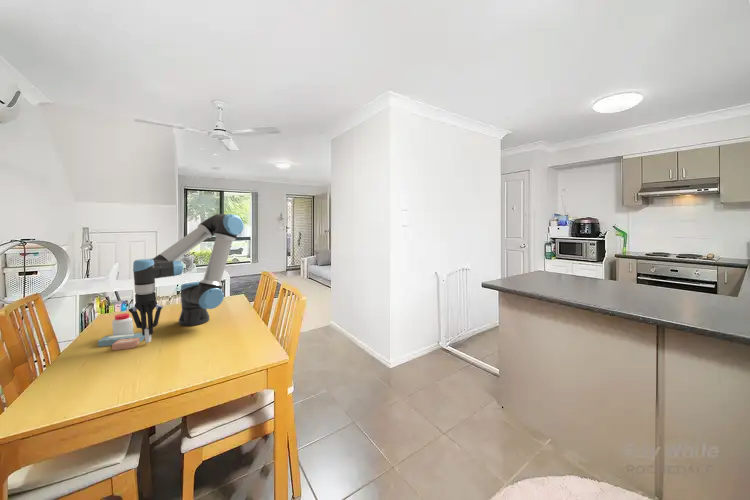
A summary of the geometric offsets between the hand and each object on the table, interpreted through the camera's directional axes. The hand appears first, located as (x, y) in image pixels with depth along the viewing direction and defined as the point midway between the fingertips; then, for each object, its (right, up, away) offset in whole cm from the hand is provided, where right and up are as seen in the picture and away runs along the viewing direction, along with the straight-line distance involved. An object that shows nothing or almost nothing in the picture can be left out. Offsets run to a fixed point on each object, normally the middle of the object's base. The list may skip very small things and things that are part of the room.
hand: (148, 341), depth 138 cm
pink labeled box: (-8, -2, -3) cm, 9 cm away
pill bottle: (-20, 0, +9) cm, 22 cm away
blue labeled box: (-14, -1, +3) cm, 14 cm away
